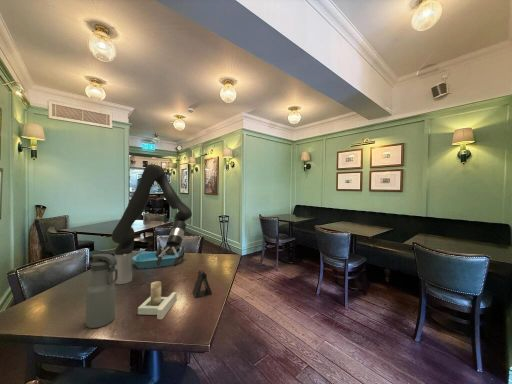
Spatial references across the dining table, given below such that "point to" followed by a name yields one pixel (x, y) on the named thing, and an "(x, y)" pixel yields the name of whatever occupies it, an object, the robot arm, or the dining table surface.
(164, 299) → the pale green square frame
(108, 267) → the water bottle
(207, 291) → the phone stand
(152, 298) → the dowel
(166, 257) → the casserole dish
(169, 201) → the robot arm
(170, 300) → the backstop wall
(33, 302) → the dining table surface
